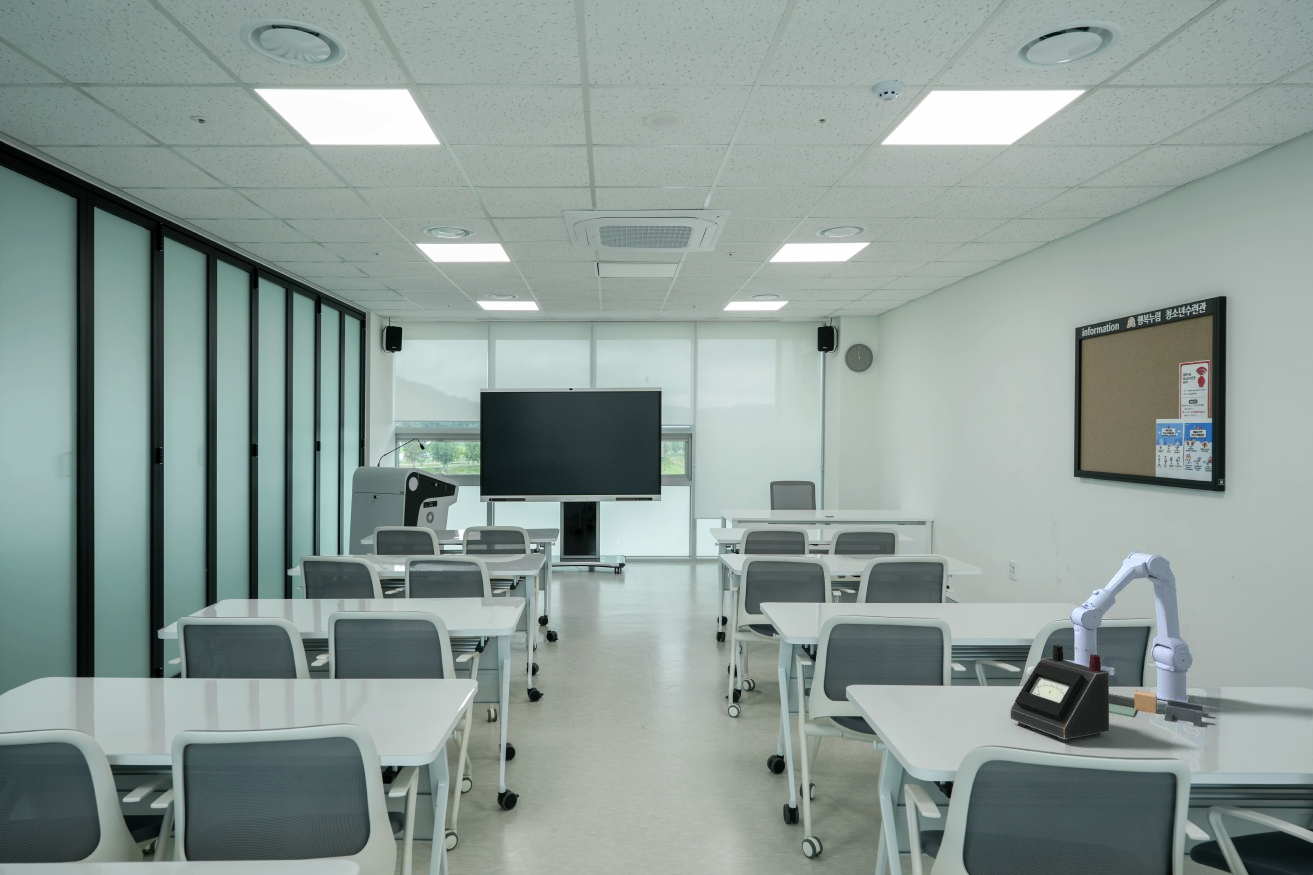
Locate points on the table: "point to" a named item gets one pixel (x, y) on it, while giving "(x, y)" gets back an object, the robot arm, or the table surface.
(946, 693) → the table surface
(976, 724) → the table surface
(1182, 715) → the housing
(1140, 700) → the plug
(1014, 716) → the voltmeter
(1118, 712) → the mat
